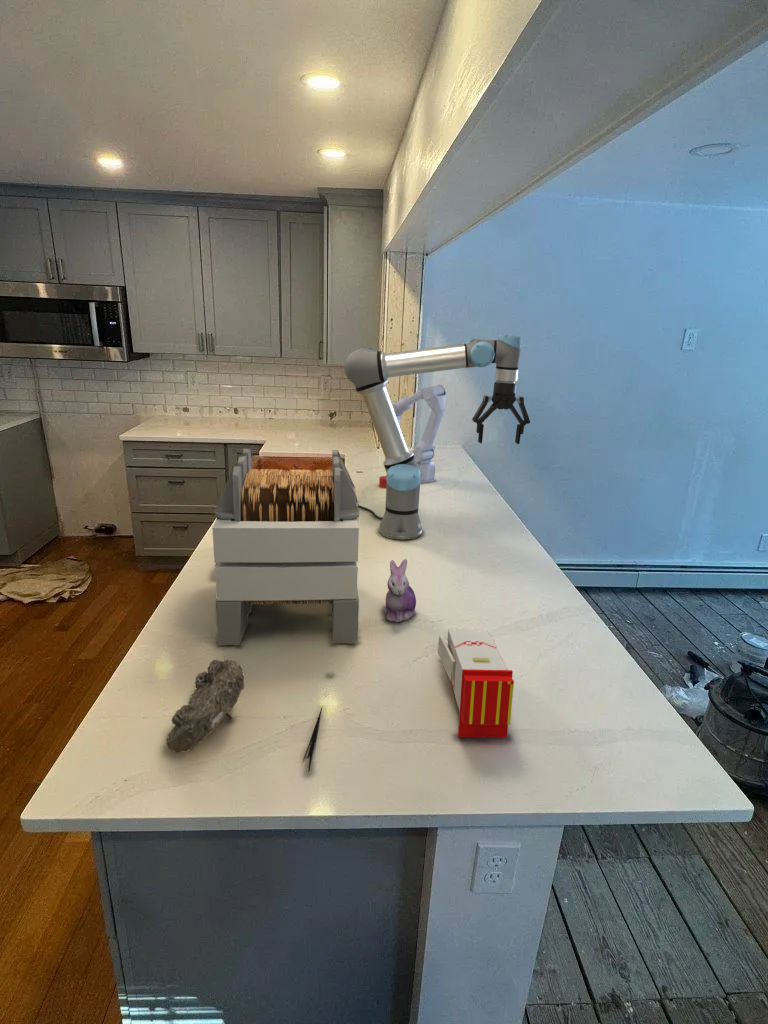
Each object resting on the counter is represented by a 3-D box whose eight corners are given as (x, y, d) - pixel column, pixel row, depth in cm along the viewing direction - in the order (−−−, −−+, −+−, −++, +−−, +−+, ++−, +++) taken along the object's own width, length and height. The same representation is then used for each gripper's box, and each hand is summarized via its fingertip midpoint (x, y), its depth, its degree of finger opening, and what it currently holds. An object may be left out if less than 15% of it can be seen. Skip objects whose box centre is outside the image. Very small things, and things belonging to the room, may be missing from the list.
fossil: (192, 660, 117) (244, 628, 112) (224, 691, 120) (276, 661, 115) (142, 746, 98) (202, 712, 93) (182, 779, 101) (242, 748, 96)
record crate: (235, 580, 161) (228, 439, 147) (350, 579, 165) (354, 441, 151) (215, 647, 129) (204, 476, 115) (358, 644, 133) (363, 478, 119)
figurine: (392, 627, 141) (395, 572, 136) (374, 608, 149) (376, 556, 144) (425, 619, 145) (429, 566, 140) (405, 601, 154) (408, 550, 149)
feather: (331, 679, 122) (336, 673, 122) (307, 777, 96) (313, 769, 95) (324, 675, 122) (329, 669, 121) (298, 772, 95) (304, 764, 95)
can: (386, 488, 249) (386, 480, 248) (376, 486, 252) (377, 477, 250) (392, 486, 253) (392, 477, 252) (383, 484, 256) (383, 475, 254)
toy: (488, 613, 130) (523, 677, 101) (484, 667, 133) (517, 744, 104) (435, 612, 130) (455, 676, 101) (432, 666, 133) (451, 743, 103)
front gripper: (536, 381, 199) (528, 441, 206) (467, 379, 196) (461, 439, 203) (544, 384, 192) (536, 445, 199) (472, 382, 189) (466, 444, 196)
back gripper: (378, 427, 272) (377, 454, 277) (395, 433, 261) (394, 461, 266) (390, 426, 276) (388, 453, 281) (408, 431, 265) (406, 460, 270)
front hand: (498, 442), depth 201 cm, fingers open, 13 cm apart
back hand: (392, 457), depth 274 cm, fingers open, 7 cm apart
